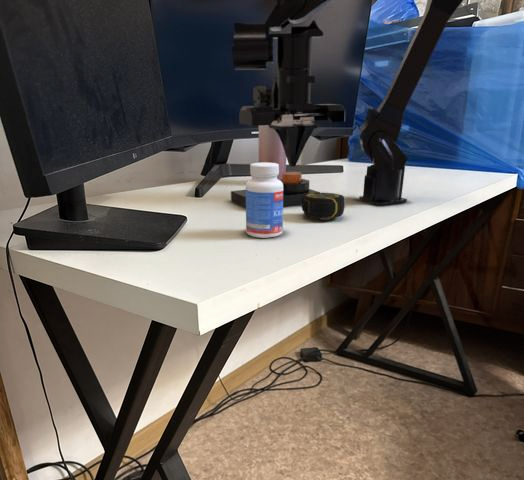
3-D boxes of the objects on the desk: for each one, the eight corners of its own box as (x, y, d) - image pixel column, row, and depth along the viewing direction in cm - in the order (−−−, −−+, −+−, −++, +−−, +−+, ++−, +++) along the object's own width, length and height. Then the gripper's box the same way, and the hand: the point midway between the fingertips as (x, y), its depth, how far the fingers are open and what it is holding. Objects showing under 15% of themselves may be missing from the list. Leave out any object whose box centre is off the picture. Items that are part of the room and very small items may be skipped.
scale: (295, 194, 102) (295, 176, 100) (319, 202, 95) (320, 183, 93) (231, 201, 96) (230, 182, 94) (252, 210, 89) (251, 190, 87)
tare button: (295, 180, 97) (295, 171, 97) (305, 183, 94) (305, 173, 94) (278, 182, 96) (278, 172, 95) (288, 185, 93) (288, 175, 92)
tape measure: (340, 213, 87) (342, 190, 85) (345, 222, 81) (347, 198, 79) (300, 213, 87) (301, 190, 85) (302, 222, 81) (303, 198, 79)
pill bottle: (279, 239, 73) (280, 167, 68) (243, 237, 74) (241, 166, 69) (285, 229, 77) (286, 161, 73) (250, 228, 78) (249, 161, 74)
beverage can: (257, 181, 115) (257, 107, 108) (283, 180, 116) (284, 107, 109) (260, 185, 110) (259, 109, 103) (287, 185, 111) (289, 108, 104)
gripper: (315, 70, 97) (312, 157, 104) (224, 70, 89) (228, 164, 96) (350, 69, 88) (343, 164, 95) (252, 68, 80) (254, 172, 88)
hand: (292, 166), depth 94 cm, fingers closed
